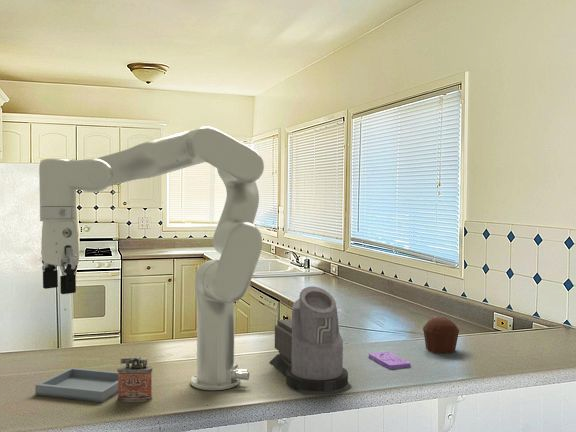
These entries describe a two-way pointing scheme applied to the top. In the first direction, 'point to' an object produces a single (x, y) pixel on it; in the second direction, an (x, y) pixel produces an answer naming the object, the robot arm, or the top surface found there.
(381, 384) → the top surface
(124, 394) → the lighter
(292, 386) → the juicer
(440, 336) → the muffin
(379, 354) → the sponges
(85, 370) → the tray
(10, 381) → the top surface
